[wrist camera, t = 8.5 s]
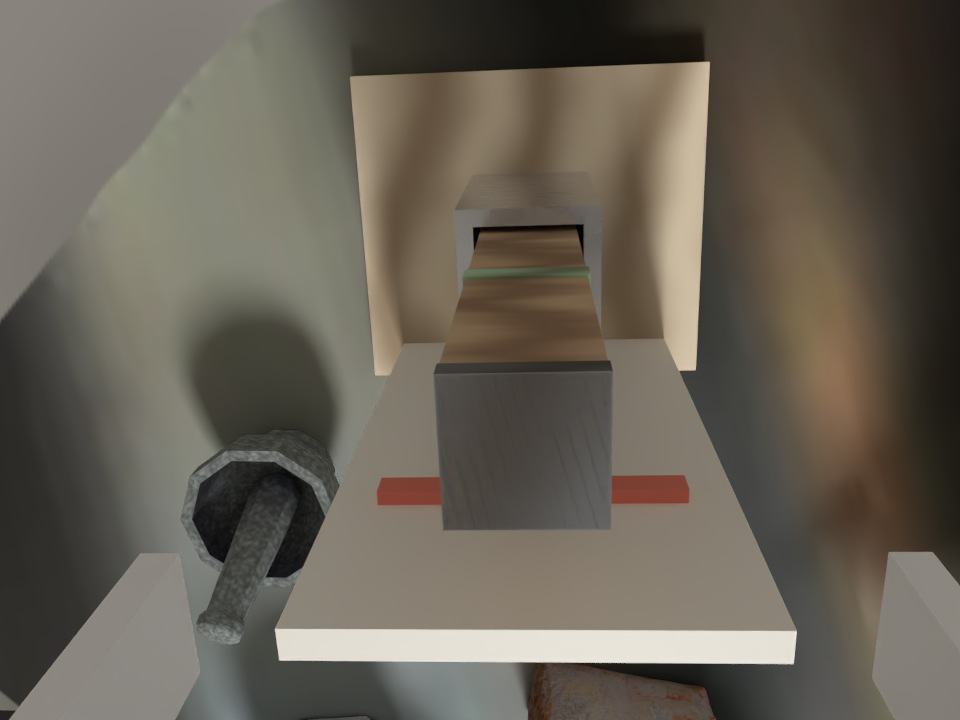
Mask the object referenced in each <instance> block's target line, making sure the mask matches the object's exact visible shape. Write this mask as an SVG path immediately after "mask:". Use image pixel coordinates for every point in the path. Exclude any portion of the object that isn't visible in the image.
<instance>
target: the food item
mask: <svg viewBox="0 0 960 720" xmlns="http://www.w3.org/2000/svg"><path fill="white" fill-rule="evenodd" d="M528 720H716V717H714V716H713V713H712V710H711V707H710V704H709V699H708V696H707V693H706V690H705V688H703V687H701V686H695V685H685V684H679V683H675V682H671V681H665V680H657V679H649V678H646V677H642V676H636V675H631V674H624V673H618V672H615V671H610V670H605V669H600V668H595V667H590V666H585V665H576V664H571V663H561V662H538V663H537V666H536V668H535V669H534V672H533V684H532V689H531V692H530V696H529V703H528Z"/></svg>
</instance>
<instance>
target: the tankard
mask: <svg viewBox="0 0 960 720" xmlns="http://www.w3.org/2000/svg"><path fill="white" fill-rule="evenodd" d="M310 720H371V719H369V718H368V717H366V716H358V717H342V718H326V719H310Z"/></svg>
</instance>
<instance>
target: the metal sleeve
mask: <svg viewBox="0 0 960 720" xmlns="http://www.w3.org/2000/svg"><path fill="white" fill-rule="evenodd" d="M454 215H455V235H456V255H457V275H458V295H459V298H460V295H461V292H462V289H463V281H462V277H463V274H464V271H465V269H469V266H470V263H471V260H472V256H473V253H474V250H475V247H476V244H477V240H478V237H479V234H480V231H481V227H498V226H533V225H568V224H576V228H577V233H578V237H579V241H580V245H581V249H582V254H583V258H584V262H585V266H589V269H590V273H591V291H592V296H593V300H594V304H595V308H596V312H597V317H598V321H599V325H600V329H601V262H602V205H601V203H600V200H599V198H598V196H597V193H596V191H595V189H594V187H593V184H592V182H591V180H590V178H589V175H588V173H587V171H584V172H553V173H523V174H492V175H472V177H471V179H470V181H469V183H468V185H467V187H466V188H465V190H464V192H463V194H462V196H461V198H460V200H459V202H458V204H457V206H456V208H455V210H454Z"/></svg>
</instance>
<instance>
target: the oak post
mask: <svg viewBox="0 0 960 720" xmlns="http://www.w3.org/2000/svg"><path fill="white" fill-rule="evenodd" d="M462 281H463V289H462V292H461V295H460V298H459V302H458V305H457V308H456V311H455V314H454V318H453V321H452V324H451V327H450V330H449V334H448V337H447V340H446V343H445V347H444V350H443V353H442V356H441V359H440V363H437V364H436V367H435V370H434V373H433V377H434V393H435V409H436V426H437V442H438V458H439V474H440V491H441V507H442V523H443V530H611V495H612V409H613V369H612V365H611V361H610V360H608V359H607V354H606V350H605V346H604V342H603V338H602V333H601V329H600V325H599V321H598V317H597V312H596V308H595V304H594V300H593V296H592V291H591V273H590V269H589V266H585V262H584V258H583V254H582V249H581V245H580V241H579V237H578V233H577V228H576V224H568V225H533V226H498V227H481V231H480V234H479V237H478V240H477V244H476V247H475V250H474V253H473V256H472V260H471V263H470V266H469V269H465V271H464V274H463V277H462Z"/></svg>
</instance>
